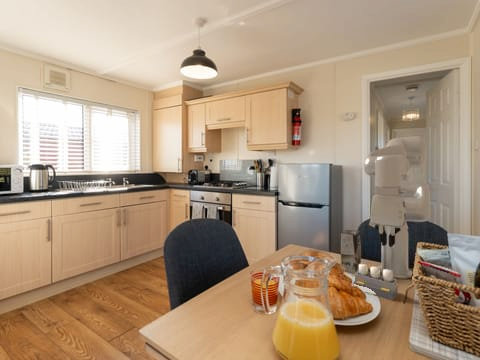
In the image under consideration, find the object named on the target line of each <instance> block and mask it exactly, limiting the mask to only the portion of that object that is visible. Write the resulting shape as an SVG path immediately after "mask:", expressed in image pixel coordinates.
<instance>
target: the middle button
mask: <svg viewBox="0 0 480 360" xmlns="http://www.w3.org/2000/svg"><path fill="white" fill-rule="evenodd" d="M369 269H370V272H369V273H370V277H371V278H374V279H377V280H378V279H380V276H381V273H380V268H379V267H378V266H370V268H369Z"/></svg>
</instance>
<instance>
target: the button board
mask: <svg viewBox="0 0 480 360" xmlns="http://www.w3.org/2000/svg"><path fill="white" fill-rule="evenodd" d="M397 281H398V280H397V278H393V282H392V283H389V282H385V281H383V275H380V279H378V280H377V279H374V278H371V277H370V272H368V276H362V275H359V270H358V271H357V273H354V281H353V285H354V284H356V285H359V286H363V287H367V288H369V289H371V290H372V291H374V292H375V293H376V295H377V296H376V295H375V296H376V297H379V298H384V299H386V300H390V301H393V300H394V298H395V297H396V296H397V294H398V293H399V291H398V290H399V288H398V284H397V283H398V282H397Z"/></svg>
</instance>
